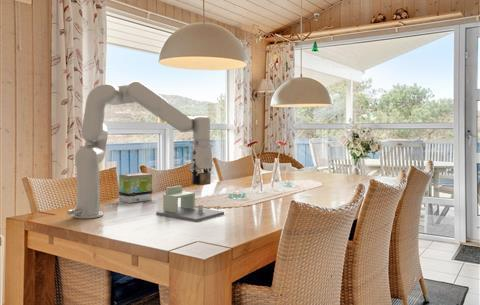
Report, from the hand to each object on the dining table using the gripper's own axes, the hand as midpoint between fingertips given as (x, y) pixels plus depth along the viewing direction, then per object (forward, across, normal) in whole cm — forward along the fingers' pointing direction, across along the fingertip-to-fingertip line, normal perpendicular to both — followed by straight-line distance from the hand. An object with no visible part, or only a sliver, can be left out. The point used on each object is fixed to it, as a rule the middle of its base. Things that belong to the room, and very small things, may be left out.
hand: (201, 183), depth 187 cm
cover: (+14, 0, +13) cm, 19 cm away
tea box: (+15, +9, +53) cm, 56 cm away
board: (+15, 0, +6) cm, 16 cm away
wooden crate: (0, 0, 0) cm, 0 cm away
